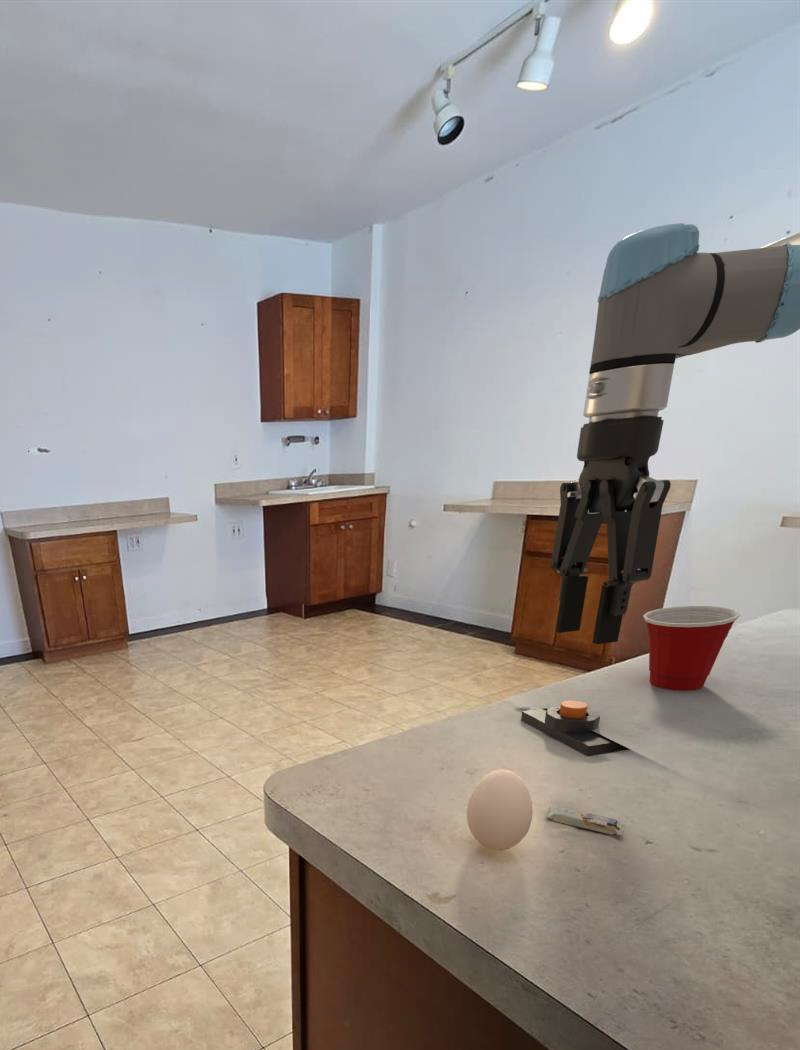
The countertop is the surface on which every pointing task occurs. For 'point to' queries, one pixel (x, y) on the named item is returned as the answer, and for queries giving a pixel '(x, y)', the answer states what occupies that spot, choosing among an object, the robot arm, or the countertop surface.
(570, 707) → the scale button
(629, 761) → the countertop surface
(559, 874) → the countertop surface
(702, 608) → the plastic cup
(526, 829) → the egg
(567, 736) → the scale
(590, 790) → the countertop surface
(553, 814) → the granola bar
